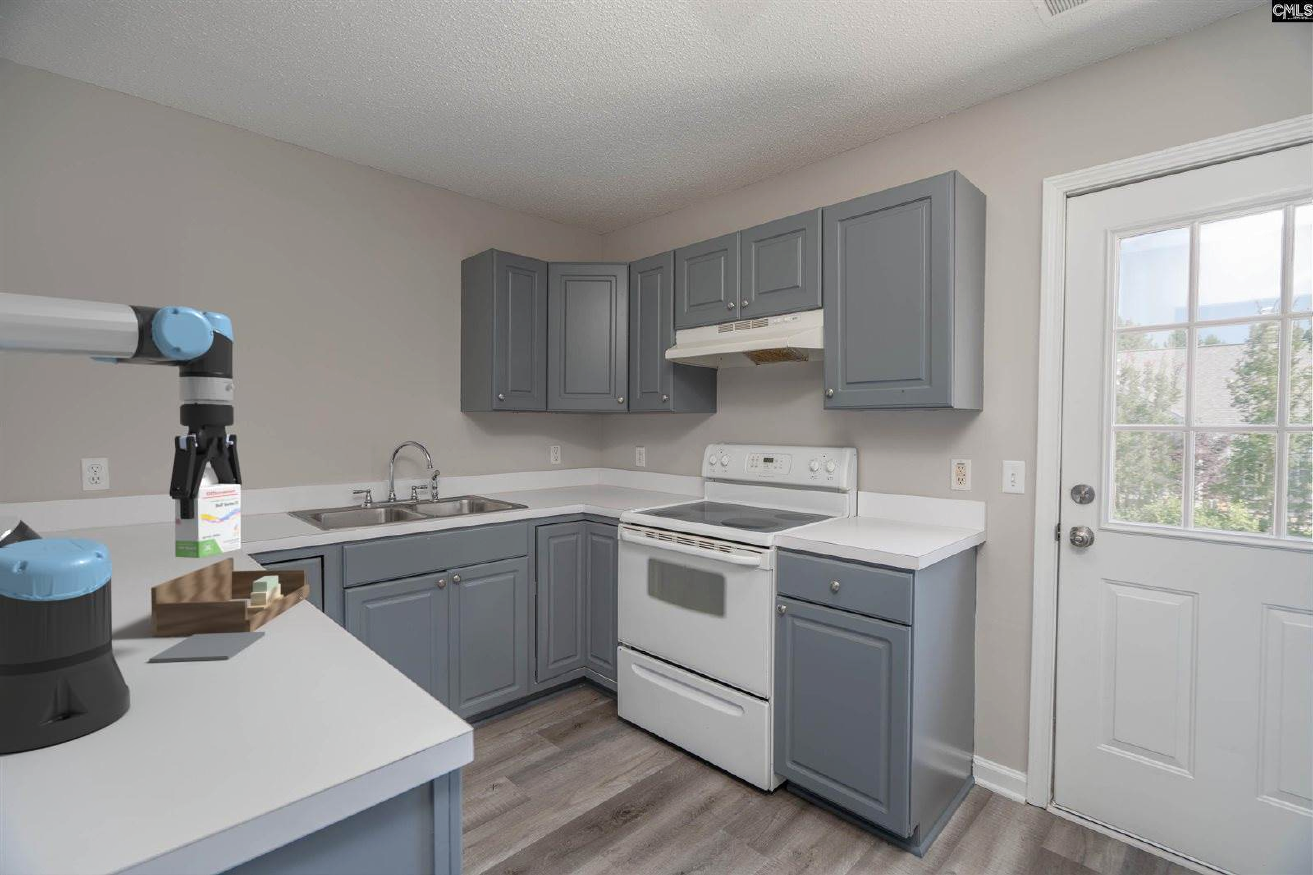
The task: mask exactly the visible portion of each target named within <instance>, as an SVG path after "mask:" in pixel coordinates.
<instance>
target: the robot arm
mask: <svg viewBox="0 0 1313 875" xmlns="http://www.w3.org/2000/svg"><path fill="white" fill-rule="evenodd" d="M233 337H234V336H233V327H232V322H231V320H230V318H229V317H228V316H226V315H225V314H222V313H218V312H213V311H201V310H196V309H194V308H191V307H187V306H175V305H170V306H166V307H154V306H153V307H152V306H143V305H130V304H129V305H128V304H123V303H114V302H106V301H105V302H103V301H92V300H84V299H73V298H72V299H71V298H61V297H52V296H42V295H32V294H21V293H13V292H12V293H11V292H4V291H3V292H0V354H1V355H2V354H4V355H31V356H55V357H56V356H58V357H60V356H61V357H84V358H85V357H86V358H90V359H91V360H93V361H97V362H103V363H113V364H114V365H118V364H126V365H127V364H129V365H145V366H163V367H164V366H165V367H178V371H179V372H178V377H179V384H178V385H179V391H178V392H179V393H178V394H179V397H178V398H179V400H180V401H181V402H183V404H181V405H180V406H179V423H180V425H181V426H183V427H187V428H188V432H187V434H186V435H176V436H174V449H175V452H174V456H173V459H174V460H173V466H172V472H171V479H170V486H169V487H170V488H169V492H168V493H169V496H170V497H171V499H172V500H175V499H180V518H181V539H197V538H201V499H196V498H197V495H198V491H199V488H200V484H201V481H202V478H204V475H205V474H204V471H205V468H207V465H208V464H207V463H209V464H210V468H213V470H214V472H215V474H216V476H217V479H218V484H240V485H241V486H242V485H243V481H242V476H241V468H240V462H239V454H238V449H237V444H238V443H237V441H238V437H237V434H228V433H227V431H226V427H232V426H233V425H234V422H235V421H234V418H235V417H234V408H235V407H234V406H233V405H232V404H230V403H231V402H233V401H234V389H235V385H234V384H233V383H234V382H233V381H234V380H233V379H234V378H233V377H234V376H233V374H234V373H233V371H234V370H233V362H234V361H233V359H234V358H233V353H234V352H233V348H234V346H233V345H234V338H233ZM178 488H179V489H178ZM113 570H114V568H113V564H112V561H111V553H110V550H109V548H107V546H106V545H105V544H103V543H102V542H100V541H96V540H93V539H88V538H74V537H49V538H48V537H47V538H43V537H42V536H41V535H39V533H37V532H36V531H35V530H33V528H31V527H30V526H29V525H27V524H26V523H25V522H24V521H23V520H22V519H20V518H19V517H18V516H16V515H14V516H13V515H0V754H5V753H6V754H7V753H15V752H22V751H28V750H34V749H38V748H39V749H40V748H43V747H47V746H52V745H56V744H60V743H63V742H67V741H69V740H72V739H76V738H79V737H81V736H85V735H88V734H90V733H93V732H95V731H98V730H100V729H102V728H105V727H107V726H109V725H110V724H112V723H114V722H116V721H117V720H119V719H121V718H122V717H123V716H124V715H126V714H127V713H128V711H129V710H130V709H131V691H130V688H129V685H128V684H126V681H125V678H124V676H123V673H122V671H121V669H120V667H119V664H118V662H117V661H116V659H115V657H114V652H113V626H112V624H113V615H112V614H113V613H112V612H113V610H112V609H113V608H112V606H113V605H112V604H113V603H112V576H113V573H114V572H113Z"/></svg>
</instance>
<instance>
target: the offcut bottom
mask: <svg viewBox="0 0 1313 875" xmlns="http://www.w3.org/2000/svg"><path fill="white" fill-rule="evenodd" d="M282 598H284V597H283V595H280V596H279V597H277V598H276V599H274V600H273V601H271V602H270V603H269V604H267V605H257V606H251V605H249V606H247V619H248V618H250V617H251V616H253V615H255V614H257V613H258V612H260V611H262V610H263V609H265V608H267V607H269V606H270V605H272V604H274V603H275V602H277V601H279V600H280V599H282Z"/></svg>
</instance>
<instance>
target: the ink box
mask: <svg viewBox="0 0 1313 875" xmlns="http://www.w3.org/2000/svg"><path fill="white" fill-rule="evenodd" d="M203 475H205V477H202V481H201V484H200V488H199V491H198V495H197V498H196V499H201V538H197V539H181V518H180V499H174V507H175V509H174V516H175V517H174V520H175V521H174V524H175V527H174V530H175V531H174V534H175V537H174V538H175V541H174V542H175V543H174V546H175V549H174V550H175V553H174V555H175V558H184V559H185V558H186V559H200V558H206V557H210V556H211V557H212V556H214V555H220V554H225V553H228V552H232V551H238V550H241V548H242V547H241V545H242V544H241V543H242V541H241V539H242V538H241V536H242V533H241V531H242V529H241V528H242V527H241V526H242V525H241V524H242V523H241V522H242V517H241V516H242V513H241V509H242V508H241V507H242V506H241V505H242V503H241V502H242V499H241V497H242V496H241V494H242V492H241V491H242V485H240V484H218V479H217V476H216V474H215V472H214V470H213V468H212V467H205V471H204V474H203ZM178 489H179V488H178Z"/></svg>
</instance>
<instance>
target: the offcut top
mask: <svg viewBox="0 0 1313 875" xmlns="http://www.w3.org/2000/svg"><path fill="white" fill-rule="evenodd" d="M276 586H278V576H264V577H262V578H260V579H258V580H256V581H254V582H253V592H267V591H269V590H271V589H272V588H274V587H276Z"/></svg>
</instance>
